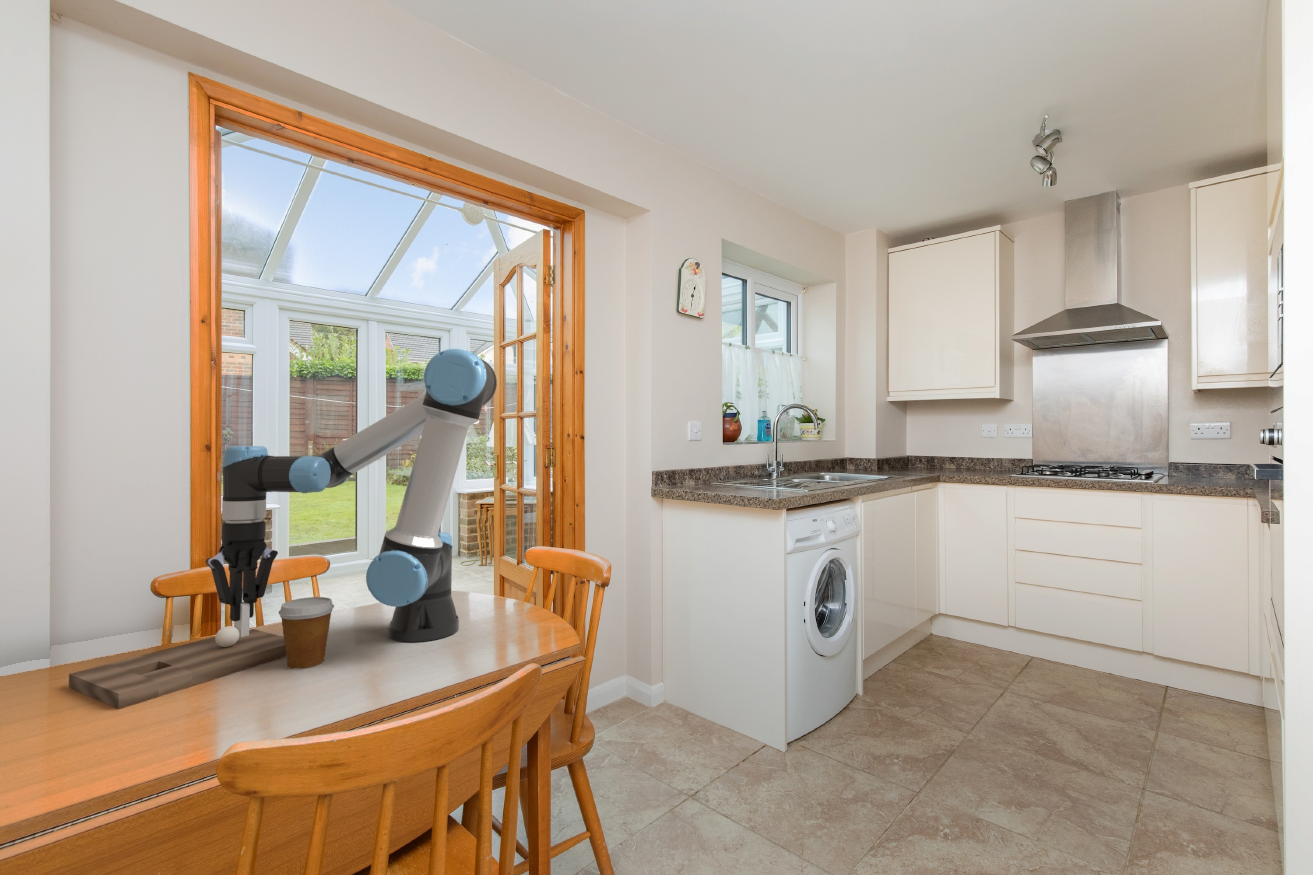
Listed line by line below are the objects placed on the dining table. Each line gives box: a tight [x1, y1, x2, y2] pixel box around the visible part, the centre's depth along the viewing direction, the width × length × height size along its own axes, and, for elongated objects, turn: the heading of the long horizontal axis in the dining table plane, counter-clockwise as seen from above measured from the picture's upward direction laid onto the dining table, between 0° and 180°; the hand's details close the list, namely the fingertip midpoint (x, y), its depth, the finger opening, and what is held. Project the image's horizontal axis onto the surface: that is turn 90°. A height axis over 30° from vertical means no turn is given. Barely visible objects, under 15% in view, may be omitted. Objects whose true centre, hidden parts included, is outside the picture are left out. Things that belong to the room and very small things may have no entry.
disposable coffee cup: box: [278, 596, 335, 669], centre depth 119 cm, size 10×10×12 cm
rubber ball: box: [214, 625, 240, 647], centre depth 121 cm, size 4×4×4 cm
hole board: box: [68, 627, 287, 710], centre depth 115 cm, size 18×30×2 cm, turn 153°
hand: (241, 635), depth 123 cm, fingers closed
